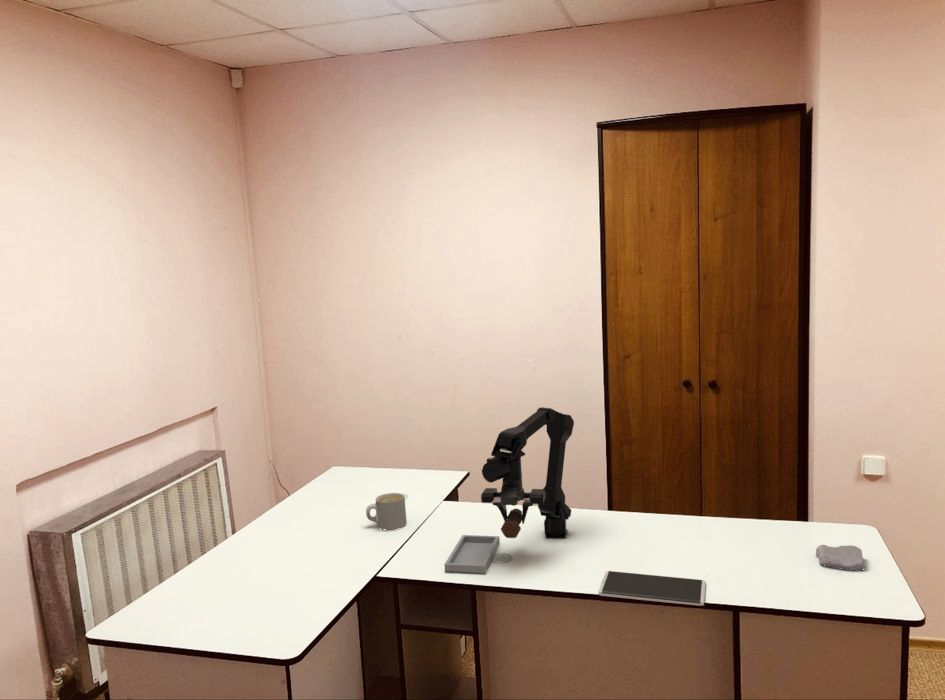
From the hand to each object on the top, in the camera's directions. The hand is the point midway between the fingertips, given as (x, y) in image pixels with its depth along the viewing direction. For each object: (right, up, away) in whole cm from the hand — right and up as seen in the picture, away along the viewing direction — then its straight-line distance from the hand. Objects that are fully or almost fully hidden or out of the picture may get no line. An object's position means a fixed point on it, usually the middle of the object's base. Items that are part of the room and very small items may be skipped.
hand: (514, 523), depth 224 cm
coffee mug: (-42, -9, +33) cm, 54 cm away
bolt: (0, -2, 0) cm, 2 cm away
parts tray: (-12, -11, +3) cm, 17 cm away
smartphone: (+36, -13, -24) cm, 45 cm away
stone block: (+90, -8, -16) cm, 92 cm away
